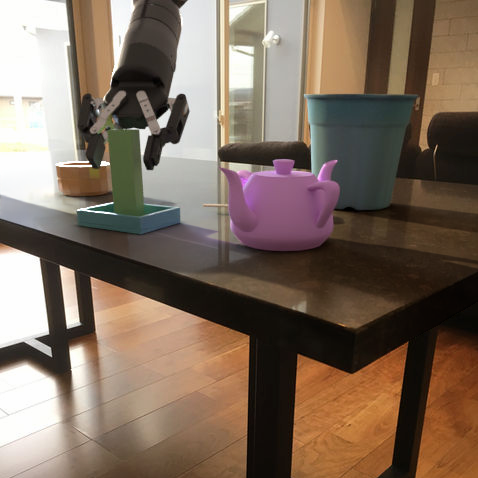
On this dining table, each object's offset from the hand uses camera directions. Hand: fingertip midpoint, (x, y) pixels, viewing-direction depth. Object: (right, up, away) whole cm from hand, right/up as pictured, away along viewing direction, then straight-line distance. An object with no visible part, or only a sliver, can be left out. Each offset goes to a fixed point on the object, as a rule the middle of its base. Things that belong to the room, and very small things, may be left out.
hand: (120, 164), depth 63 cm
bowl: (-13, +4, +30) cm, 33 cm away
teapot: (+19, -10, -4) cm, 22 cm away
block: (0, -6, +4) cm, 7 cm away
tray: (0, -6, +4) cm, 8 cm away
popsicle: (+16, -3, +12) cm, 21 cm away
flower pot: (+32, -1, +19) cm, 37 cm away
